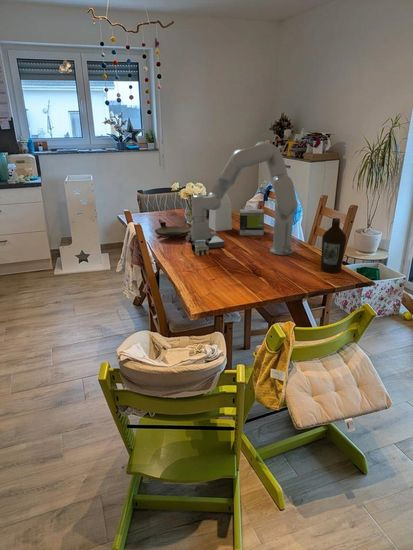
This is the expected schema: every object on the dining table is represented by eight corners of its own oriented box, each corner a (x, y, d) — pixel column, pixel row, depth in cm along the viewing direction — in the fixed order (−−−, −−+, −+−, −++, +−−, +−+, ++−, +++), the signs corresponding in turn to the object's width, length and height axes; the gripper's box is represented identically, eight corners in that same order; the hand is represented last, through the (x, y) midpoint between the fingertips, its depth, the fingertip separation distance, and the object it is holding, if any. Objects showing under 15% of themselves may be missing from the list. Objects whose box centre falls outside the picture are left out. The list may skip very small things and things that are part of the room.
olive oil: (322, 264, 195) (327, 215, 186) (344, 268, 190) (350, 217, 181) (316, 271, 186) (322, 220, 177) (339, 275, 182) (346, 222, 172)
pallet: (208, 254, 212) (208, 247, 211) (197, 255, 210) (197, 248, 209) (202, 248, 221) (202, 241, 219) (191, 250, 219) (191, 243, 217)
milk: (224, 225, 269) (225, 186, 259) (231, 229, 259) (232, 189, 249) (208, 227, 265) (208, 188, 255) (215, 231, 255) (215, 191, 245)
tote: (205, 246, 212) (205, 242, 211) (197, 246, 211) (197, 243, 210) (201, 243, 217) (201, 239, 217) (194, 243, 216) (194, 240, 215)
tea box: (263, 231, 253) (264, 208, 247) (263, 235, 244) (264, 212, 238) (239, 231, 254) (240, 208, 249) (239, 235, 245) (239, 212, 240)
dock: (224, 246, 224) (224, 238, 222) (204, 248, 221) (204, 240, 219) (215, 239, 237) (215, 231, 235) (196, 241, 233) (196, 233, 231)
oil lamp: (157, 244, 230) (156, 231, 228) (153, 230, 258) (152, 219, 255) (194, 241, 235) (194, 228, 232) (186, 228, 262) (186, 217, 259)
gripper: (185, 221, 203) (186, 254, 209) (217, 218, 208) (217, 250, 214) (181, 218, 209) (182, 250, 216) (212, 215, 214) (212, 246, 221)
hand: (200, 250), depth 215 cm, fingers closed on pallet, 6 cm apart
